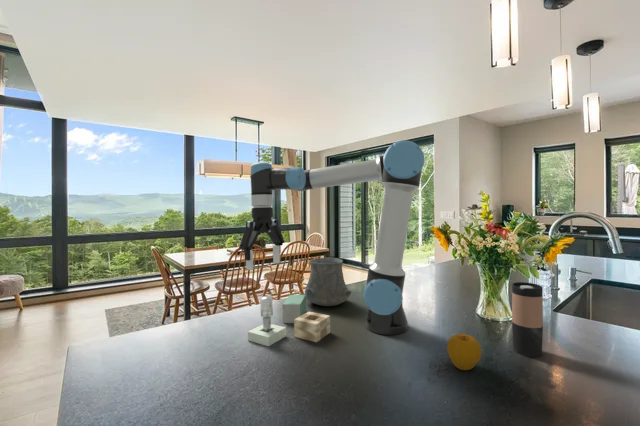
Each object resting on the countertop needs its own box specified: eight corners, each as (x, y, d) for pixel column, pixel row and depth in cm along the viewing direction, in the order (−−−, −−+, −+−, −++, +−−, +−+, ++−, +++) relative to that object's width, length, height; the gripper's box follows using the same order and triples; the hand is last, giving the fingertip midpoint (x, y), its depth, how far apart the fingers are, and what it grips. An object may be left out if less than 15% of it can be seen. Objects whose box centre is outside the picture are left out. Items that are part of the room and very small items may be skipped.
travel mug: (537, 347, 94) (537, 283, 94) (547, 359, 87) (547, 289, 87) (509, 344, 97) (509, 281, 96) (516, 355, 90) (515, 287, 89)
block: (330, 332, 109) (329, 315, 109) (316, 342, 101) (316, 324, 101) (309, 327, 114) (308, 311, 113) (294, 336, 106) (294, 319, 106)
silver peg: (275, 337, 106) (274, 296, 105) (267, 341, 102) (266, 300, 102) (266, 334, 108) (265, 295, 108) (258, 339, 105) (257, 298, 104)
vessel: (338, 315, 126) (337, 266, 125) (295, 306, 138) (294, 262, 137) (360, 300, 144) (360, 258, 144) (320, 294, 156) (320, 254, 155)
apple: (480, 380, 78) (480, 345, 78) (444, 371, 82) (444, 338, 82) (483, 364, 85) (482, 333, 85) (450, 357, 90) (449, 327, 89)
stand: (285, 336, 107) (285, 327, 107) (268, 346, 99) (268, 337, 99) (266, 330, 111) (266, 322, 111) (248, 340, 104) (248, 331, 104)
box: (306, 311, 131) (305, 293, 131) (301, 323, 118) (300, 304, 118) (289, 311, 132) (288, 293, 132) (282, 323, 119) (282, 304, 118)
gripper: (277, 206, 122) (279, 259, 123) (227, 207, 102) (229, 271, 102) (292, 206, 118) (293, 261, 119) (242, 207, 98) (244, 273, 98)
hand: (263, 266), depth 111 cm, fingers open, 13 cm apart
